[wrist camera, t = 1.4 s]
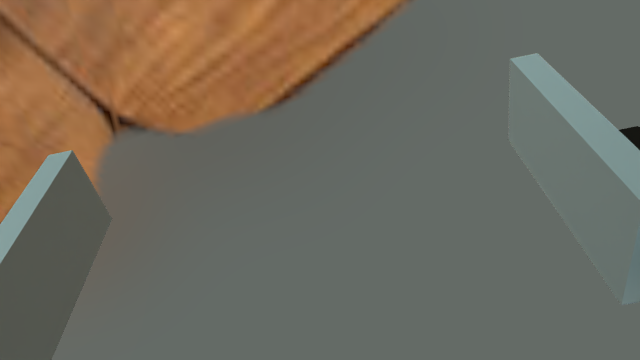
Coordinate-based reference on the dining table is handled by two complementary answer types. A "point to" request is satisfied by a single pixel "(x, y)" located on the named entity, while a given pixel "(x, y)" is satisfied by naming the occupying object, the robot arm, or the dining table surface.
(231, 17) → the dining table surface
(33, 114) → the dining table surface
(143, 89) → the dining table surface
